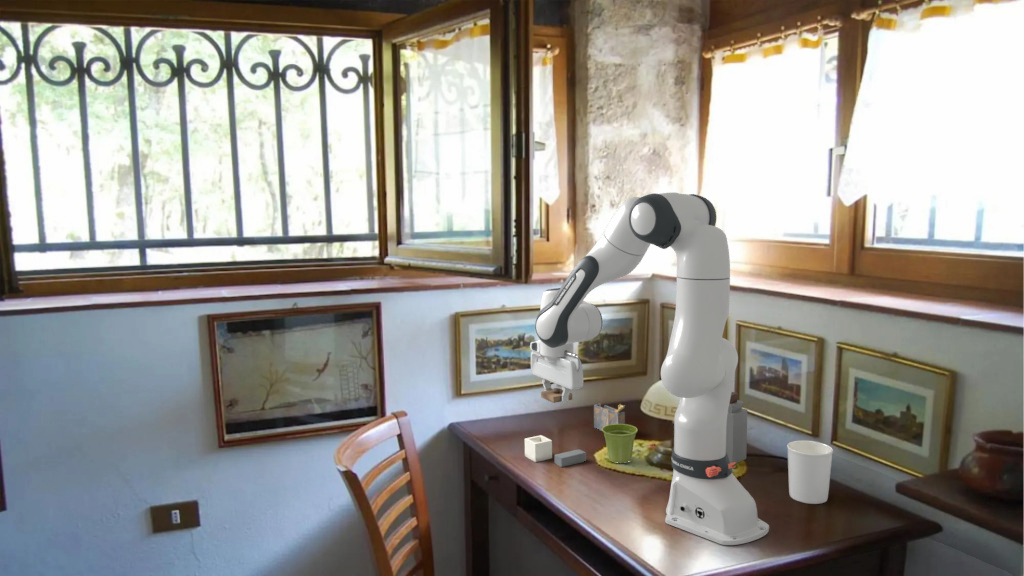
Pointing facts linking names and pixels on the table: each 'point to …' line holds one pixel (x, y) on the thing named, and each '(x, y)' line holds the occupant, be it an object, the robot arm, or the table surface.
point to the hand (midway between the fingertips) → (556, 398)
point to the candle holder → (809, 471)
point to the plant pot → (619, 441)
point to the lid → (553, 395)
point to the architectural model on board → (608, 416)
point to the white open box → (538, 448)
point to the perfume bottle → (736, 430)
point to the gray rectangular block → (570, 458)
